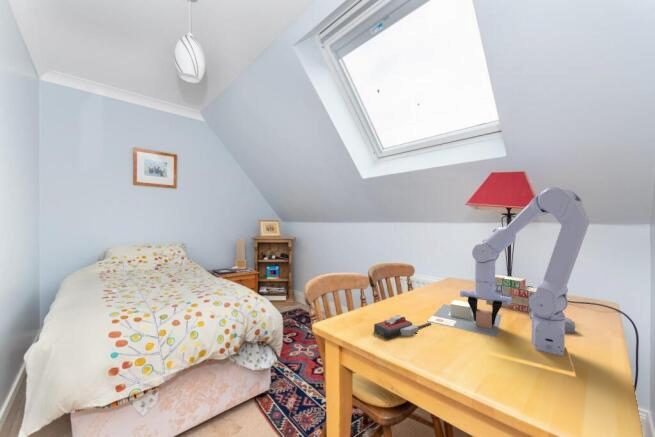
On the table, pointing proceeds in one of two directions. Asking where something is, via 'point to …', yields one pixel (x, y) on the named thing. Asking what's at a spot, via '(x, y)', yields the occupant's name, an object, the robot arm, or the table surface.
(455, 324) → the board
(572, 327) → the stone block
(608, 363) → the table surface
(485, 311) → the orange cube
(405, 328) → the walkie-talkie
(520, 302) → the stack of blocks
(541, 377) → the table surface
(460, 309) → the cream base block
